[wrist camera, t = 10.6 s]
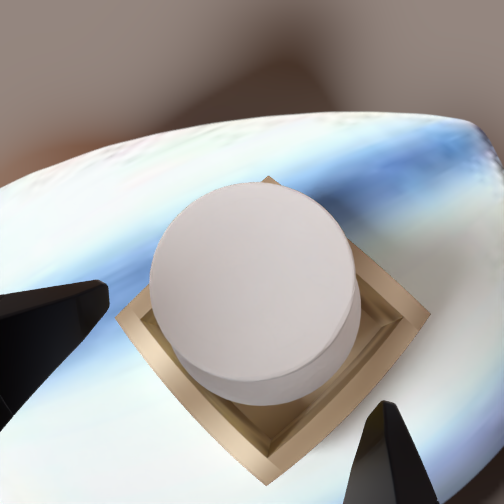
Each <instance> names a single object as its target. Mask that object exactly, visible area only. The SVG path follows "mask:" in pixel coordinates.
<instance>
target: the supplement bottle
mask: <svg viewBox="0 0 504 504" xmlns="http://www.w3.org/2000/svg"><path fill="white" fill-rule="evenodd" d="M149 289H150V299H151V305H152V309H153V312H154V316H155V318H156V320H157V323H158V325H159V327H160V329H161V331H162V333H163V334H164V336H165V338H166V339H167V340H168V342H169V343H170V344H171V346H172V348H173V350H174V352H175V354H176V356H177V358H178V360H179V361H180V363H181V364H182V366H183V367H184V368H185V370H186V371H187V372H188V373H189V374H190V375H191V376H192V377H193V378H194V379H195V380H196V381H197V382H198V383H199V384H200V385H202V386H203V387H204V388H206V389H207V390H209V391H210V392H212V393H214V394H216V395H218V396H220V397H222V398H225V399H227V400H230V401H233V402H236V403H241V404H246V405H256V406H267V405H278V404H283V403H288V402H291V401H294V400H297V399H299V398H301V397H304V396H306V395H308V394H310V393H312V392H313V391H315V390H316V389H318V388H319V387H321V386H322V385H323V384H325V383H326V382H327V381H328V380H329V379H330V378H331V377H332V376H333V375H334V374H335V373H336V372H337V371H338V369H339V368H340V367H341V366H342V364H343V363H344V361H345V360H346V359H347V357H348V355H349V353H350V351H351V349H352V347H353V345H354V342H355V340H356V336H357V333H358V329H359V325H360V318H361V298H360V291H359V287H358V283H357V279H356V273H355V264H354V258H353V254H352V250H351V247H350V245H349V242H348V240H347V238H346V236H345V234H344V232H343V230H342V229H341V227H340V226H339V224H338V223H337V221H336V220H335V219H334V218H333V216H332V215H331V214H330V213H329V212H328V211H327V210H326V209H325V208H324V207H322V206H321V205H320V204H319V203H317V202H316V201H314V200H313V199H311V198H310V197H308V196H307V195H305V194H303V193H301V192H299V191H296V190H294V189H291V188H288V187H285V186H281V185H277V184H272V183H263V182H250V183H240V184H234V185H230V186H226V187H222V188H220V189H217V190H214V191H212V192H210V193H208V194H206V195H204V196H202V197H200V198H199V199H197V200H196V201H194V202H192V203H191V204H190V205H189V206H187V207H186V208H185V209H184V210H183V211H182V212H181V213H180V214H178V215H177V217H176V218H175V219H174V220H173V221H172V222H171V224H170V225H169V226H168V228H167V229H166V231H165V232H164V234H163V236H162V238H161V239H160V241H159V243H158V246H157V248H156V251H155V254H154V256H153V261H152V265H151V270H150V282H149Z"/></svg>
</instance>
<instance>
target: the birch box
mask: <svg viewBox="0 0 504 504" xmlns="http://www.w3.org/2000/svg"><path fill="white" fill-rule="evenodd" d="M262 182H263V183H272V184H277V185H280V184H279V183H278V182H276V181H275V180H274V179H272V178H271V177H270V176H267V177H266V178H265V179H264V180H263V181H262ZM281 186H282V185H281ZM347 240H348V242H349V245H350V247H351V250H352V254H353V258H354V264H355V273H356V279H357V283H358V287H359V291H360V298H361V318H360V325H359V329H358V333H357V336H356V340H355V342H354V345H353V347H352V349H351V351H350V353H349V355H348V357H347V359H346V360H345V361H344V363H343V364H342V366H341V367H340V368H339V369H338V371H337V372H336V373H335V374H334V375H333V376H332V377H331V378H330V379H329V380H328V381H327V382H326V383H325V384H323V385H322V386H321V387H319V388H318V389H316V390H315V391H313V392H312V393H310V394H308V395H306V396H304V397H301V398H299V399H297V400H294V401H291V402H288V403H283V404H278V405H267V406H256V405H246V404H241V403H236V402H233V401H230V400H227V399H225V398H222V397H220V396H218V395H216V394H214V393H212V392H210V391H209V390H207V389H206V388H204V387H203V386H202V385H200V384H199V383H198V382H197V381H196V380H195V379H194V378H193V377H192V376H191V375H190V374H189V373H188V372H187V371H186V370H185V368H184V367H183V366H182V364H181V363H180V361H179V360H178V358H177V356H176V354H175V352H174V350H173V348H172V346H171V344H170V343H169V342H168V340H167V339H166V338H165V336H164V334H163V333H162V331H161V329H160V327H159V325H158V323H157V320H156V318H155V316H154V312H153V309H152V305H151V299H150V289H149V284H148V285H147V286H146V287H145V288H144V289H143V290H142V291H141V292H140V293H139V294H138V295H137V296H136V297H135V298H134V299H133V300H132V301H131V302H130V303H129V304H128V305H127V306H126V307H125V308H124V309H123V310H122V311H121V312H120V313H119V314H118V315H117V316H116V317H115V319H116V320H117V322H118V323H119V325H120V326H121V328H122V329H123V331H124V332H125V333H126V335H127V336H128V338H129V339H130V340H131V342H132V343H133V344H134V346H135V347H136V349H137V350H138V351H139V353H140V354H141V355H142V356H143V358H144V359H145V360H146V362H147V363H148V364H149V366H150V367H151V368H152V369H153V371H154V372H155V373H156V374H157V376H158V377H159V378H160V379H161V380H162V382H163V383H164V384H165V385H166V387H167V388H168V389H169V390H170V391H171V392H172V394H173V395H174V396H175V397H176V398H177V399H178V401H179V402H180V403H181V404H182V405H183V406H184V407H185V408H186V410H187V411H188V412H189V413H190V414H191V415H192V416H193V417H194V418H195V419H196V420H197V421H198V423H199V424H200V425H201V426H202V427H203V428H204V429H205V430H206V431H207V432H208V433H209V434H210V435H211V436H212V437H213V438H214V439H215V440H216V441H217V442H218V443H219V444H220V445H221V446H222V447H223V448H224V449H225V450H226V451H227V452H228V453H229V454H230V455H232V456H233V457H234V458H235V459H236V460H237V461H238V462H239V463H240V464H241V465H242V466H243V467H245V468H246V469H247V470H248V471H249V472H250V473H251V474H253V475H254V476H255V477H256V478H257V479H258V480H260V481H261V482H262V483H263V484H264V485H266V486H267V485H268V484H270V483H271V482H273V481H274V480H275V479H276V478H278V477H279V476H280V475H282V474H283V473H284V472H286V471H287V470H288V469H289V468H291V467H292V466H293V465H294V464H295V463H297V462H298V461H299V460H300V459H301V458H303V457H304V456H305V455H306V454H307V453H308V452H310V451H311V450H312V449H313V448H314V447H315V446H316V445H318V444H319V443H320V442H321V441H322V440H323V439H324V438H325V437H326V436H327V435H328V434H329V433H331V432H332V431H333V430H334V429H335V428H336V427H337V426H338V425H339V424H340V423H341V422H342V421H343V420H344V419H345V418H346V417H347V416H348V415H349V414H350V413H351V412H352V411H353V410H354V409H355V408H356V407H357V406H358V404H359V403H360V402H361V401H362V400H363V399H364V398H365V397H366V396H367V395H368V394H369V393H370V391H371V390H372V389H373V388H374V387H375V386H376V385H377V383H378V382H379V381H380V380H381V379H382V378H383V377H384V375H385V374H386V373H387V372H388V371H389V369H390V368H391V367H392V366H393V364H394V363H395V362H396V361H397V359H398V358H399V357H400V356H401V354H402V353H403V352H404V351H405V349H406V348H407V347H408V345H409V344H410V343H411V341H412V340H413V339H414V337H415V336H416V335H417V333H418V332H419V330H420V329H421V328H422V326H423V325H424V323H425V322H426V320H427V319H428V317H429V316H430V315H431V314H430V313H429V312H428V311H427V310H426V309H425V308H424V307H423V306H422V305H421V304H420V303H419V302H418V301H417V300H416V299H415V298H414V297H413V296H412V295H411V294H409V293H408V292H407V291H406V290H405V289H404V288H403V287H402V286H401V285H400V284H399V283H398V282H397V281H395V280H394V279H393V278H392V277H391V276H390V275H389V274H388V273H387V272H385V271H384V270H383V269H382V268H381V267H380V266H379V265H378V264H377V263H375V262H374V261H373V260H372V259H371V258H370V257H369V256H367V255H366V254H365V253H364V252H363V251H362V250H361V249H359V248H358V247H357V246H356V245H355V244H354V243H352V242H351V241H350V240H349V239H348V238H347Z"/></svg>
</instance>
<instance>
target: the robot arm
mask: <svg viewBox="0 0 504 504" xmlns="http://www.w3.org/2000/svg"><path fill="white" fill-rule="evenodd" d="M109 305H110V303H109V290H108V286H107V284H105V283H104V282H102V281H100V280H91V281H85V282H78V283H72V284H66V285H60V286H53V287H47V288H41V289H35V290H28V291H22V292H16V293H9V294H5V295H4V294H3V295H0V432H1V430H2V429H3V428H4V427H5V426H6V424H7V423H8V422H9V421H10V420H11V419H12V417H13V416H14V415H15V414H16V413H17V411H18V410H19V409H20V408H21V407H22V406H23V405H24V403H25V402H26V401H27V400H28V399H29V398H30V397H31V396H32V395H33V393H34V392H35V391H36V390H37V389H38V388H39V387H40V386H41V385H42V384H43V382H44V381H45V380H46V379H47V378H48V377H49V376H50V375H51V374H52V373H53V372H54V371H55V370H56V368H57V367H58V366H59V365H60V364H61V363H62V362H63V361H64V360H65V359H66V358H67V357H68V356H69V355H70V354H71V353H72V352H73V351H74V350H75V349H76V348H77V347H78V345H79V344H80V343H81V342H82V341H83V340H84V339H85V338H86V336H87V335H88V334H89V333H90V331H91V330H92V329H93V328H94V326H95V325H96V324H97V323H98V321H99V320H100V319H101V318H102V317H103V315H104V314H105V313H106V312H107V310H108V308H109ZM343 504H439V501H437V497H436V494H435V492H434V489H433V487H432V484H431V482H430V479H429V477H428V475H427V472H426V470H425V467H424V465H423V463H422V460H421V458H420V456H419V454H418V451H417V449H416V447H415V444H414V442H413V440H412V438H411V436H410V433H409V431H408V429H407V427H406V425H405V423H404V420H403V418H402V416H401V414H400V412H399V410H398V408H397V406H396V404H395V403H392V402H388V401H385V400H383V401H381V402H380V403H379V404H378V405H377V407H376V408H375V409H374V410H373V411H372V413H371V414H370V415H369V416H368V418H367V420H366V422H365V426H364V429H363V433H362V436H361V439H360V443H359V446H358V449H357V452H356V455H355V458H354V461H353V465H352V468H351V472H350V477H349V481H348V485H347V489H346V494H345V497H344V501H343Z"/></svg>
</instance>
